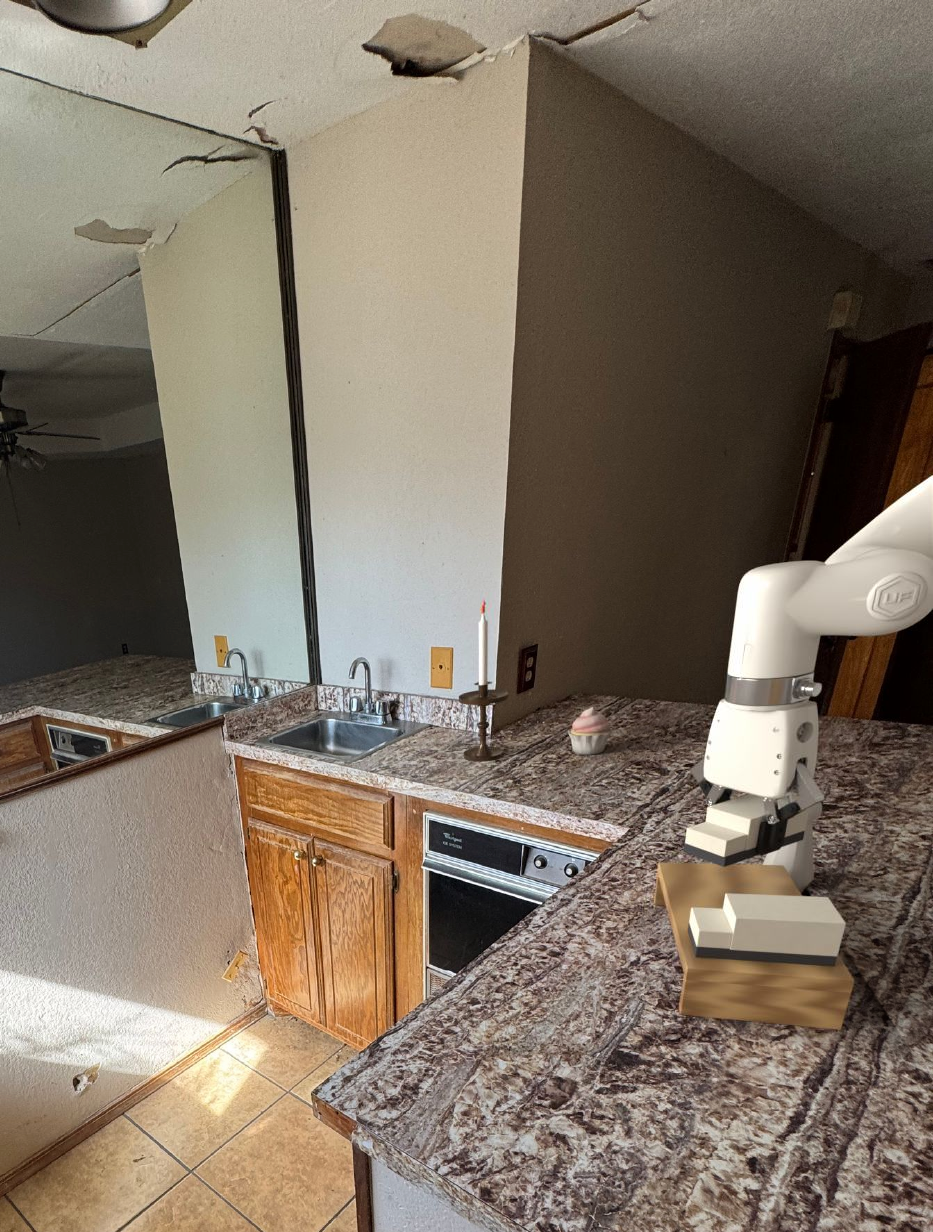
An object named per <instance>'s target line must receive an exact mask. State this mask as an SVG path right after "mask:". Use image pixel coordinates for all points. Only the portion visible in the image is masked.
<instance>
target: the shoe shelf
mask: <svg viewBox="0 0 933 1232" xmlns="http://www.w3.org/2000/svg"><path fill="white" fill-rule="evenodd" d="M726 893H729V894H756V895H783V896H803V894H802V893H800V891H799V890H798V888H797V887H796V885H795V883H794V882H793V880H792V879H791V877H790V875H789V874H788V872H787V870H786V869H785V867H784V866H783V865H762V864H746V863H745V864H740V863H739V864H738V863H734V864H732V865H729V866H726V867H723V866H720V865H717V864H714V863H702V862H701V863H697V862H693V863H692V862H662V861H661V862H658V863H657V871H656V880H655V886H654V894H653V904H654V906H662V907H663V906H664V907H665V908H666V910H667V914H668V918H669V923H670V925H671V929H672V934H673V937H674V941H675V944H676V945H675V946H676V949H677V952H678V956H679V960H680V965H681V967H682V971H683V978H682V984H681V990H680V996H679V1004H678V1011H679V1015H680V1016H681V1015H682V1016H690V1017H700V1018H701V1017H702V1018H711V1019H712V1018H713V1019H722V1020H723V1019H724V1020H733V1021H744V1022H753V1023H762V1024H763V1023H765V1024H774V1025H784V1026H785V1025H786V1026H796V1027H805V1028H806V1027H807V1028H817V1029H825V1030H827V1029H828V1030H836V1031H837V1030H838V1031H841V1030H842V1027H843V1023H844V1020H845V1016H846V1012H847V1009H848V1006H849V1004H850V1003H849V1002H850V999H851V995H852V992H853V989H854V985H855V982H856V981H855V978H854V977H853V976H852V973H851V972H850V971H849V969H848V967H847V966H846V964H845V963H844V961H843V959H842V957H841V956H840V954H839V953H838V956H837V959H836V962H835V966H819V965H804V964H789V963H775V962H760V961H745V960H730V959H716V958H701V957H695V954H694V951H693V948H692V944H691V941H690V938H689V934H688V924H689V920H690V913H691V908H692V907H695V908H718V909H723V905H724V900H725V894H726Z"/></svg>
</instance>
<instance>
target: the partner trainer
mask: <svg viewBox="0 0 933 1232" xmlns="http://www.w3.org/2000/svg"><path fill="white" fill-rule="evenodd" d="M846 925H847V923H846V921H845V920H844V918H843V917H842V915H841V914H840V912H839V911H838V910H837V908H836V907H835V905H834V903H833V902H832V900H831V899H830V898H829V897H828V896H810V895H809V896H807V895H802V896H783V895H756V894H729V893H726V894H725V900H724V905H723V909H718V908H695V907H692V908H691V913H690V920H689V924H688V934H689V938H690V941H691V944H692V948H693V951H694V954H695V957H701V958H716V959H730V960H745V961H760V962H775V963H789V964H804V965H819V966H835V962H836V959H837V956H838V954H839V952H840V947H841V945H842V941H843V937H844V934H845V930H846Z"/></svg>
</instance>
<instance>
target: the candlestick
mask: <svg viewBox="0 0 933 1232" xmlns="http://www.w3.org/2000/svg"><path fill="white" fill-rule="evenodd" d="M485 606H486V601H485V599H483V600H482V605H481V609H480V611H481V618H480V620H479V621H478V682H477V681H476V682H475V683H474V684H473V685H474V686H478V689H477V690H472V691H467V692H463V693H462V694H459V696H458V703H460V704H462V705H465V706H466V705H469V706H477V707H479V721H478V722H477V724H476V727H477V729H479V733H478V734H477V737H479V741H480V742H479V745H478V746H477V747H476V746H475V747H472V748H469V749H466V750H465V751H463V759H464V760H466V761H470V762H490V761H491V762H492V761H495V760H500V758H503V757H504V749H502V748H500V747H496V746H488V744H487V737H489V733H488V731H487V729H488V728H489V727H490V723H489V722H488V721H487V707H489V706H490V705H492V704H498V703H501V702H504V701H506V700H508V699H509V692H508V691H507V690H503V689H489V685H491V684H493V681H490V680H489V681H488V667H489V666H488V661H489V660H488V658H489V657H488V656H489V655H488V653H489V651H488V650H489V647H488V646H489V645H488V644H489V643H488V640H489V639H488V635H489V633H488V632H489V631H488V630H489V629H488V628H489V627H488V626H489V625H488V623H489V621H488V620H487V619H486V616H485V613H486V607H485Z"/></svg>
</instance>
